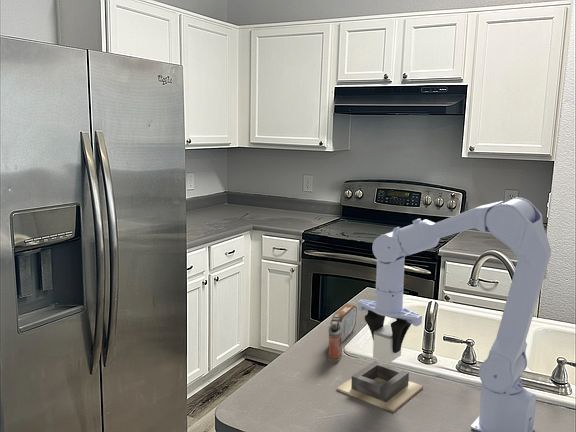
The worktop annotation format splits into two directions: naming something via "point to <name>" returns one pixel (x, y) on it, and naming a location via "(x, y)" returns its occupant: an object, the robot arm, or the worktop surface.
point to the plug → (384, 345)
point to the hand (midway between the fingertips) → (387, 348)
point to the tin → (347, 319)
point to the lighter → (335, 340)
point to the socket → (381, 386)
